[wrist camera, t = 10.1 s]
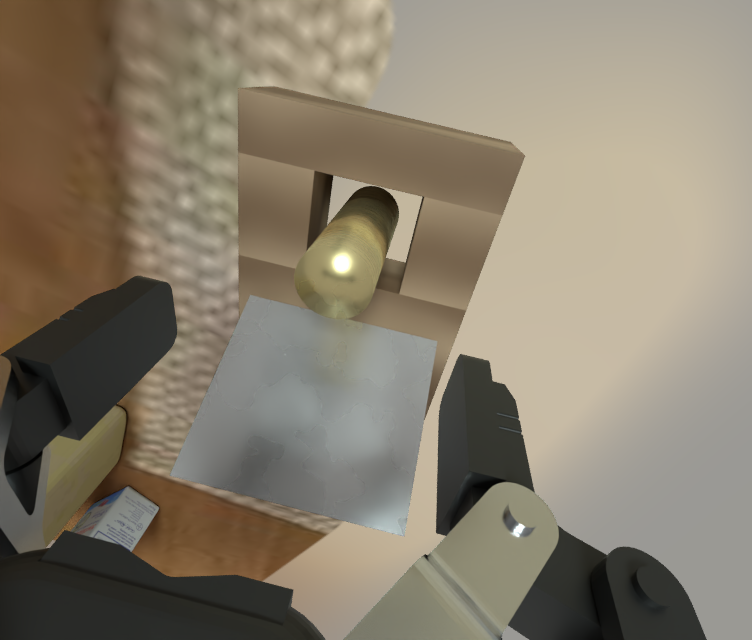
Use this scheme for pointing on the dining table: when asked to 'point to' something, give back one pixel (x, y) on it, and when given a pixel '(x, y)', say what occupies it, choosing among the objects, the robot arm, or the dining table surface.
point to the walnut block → (377, 167)
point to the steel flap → (314, 415)
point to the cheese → (80, 469)
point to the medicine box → (118, 518)
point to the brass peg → (348, 255)
